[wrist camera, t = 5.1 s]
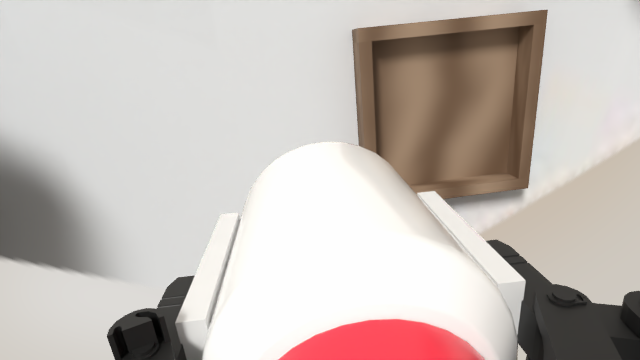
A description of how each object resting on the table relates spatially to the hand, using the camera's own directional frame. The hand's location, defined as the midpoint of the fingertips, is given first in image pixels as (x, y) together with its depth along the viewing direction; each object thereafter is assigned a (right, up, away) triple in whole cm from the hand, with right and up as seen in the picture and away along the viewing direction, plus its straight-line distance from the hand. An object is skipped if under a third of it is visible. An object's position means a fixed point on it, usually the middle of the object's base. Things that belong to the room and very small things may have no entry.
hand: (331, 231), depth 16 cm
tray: (+10, +8, +17) cm, 22 cm away
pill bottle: (0, 0, +1) cm, 1 cm away
